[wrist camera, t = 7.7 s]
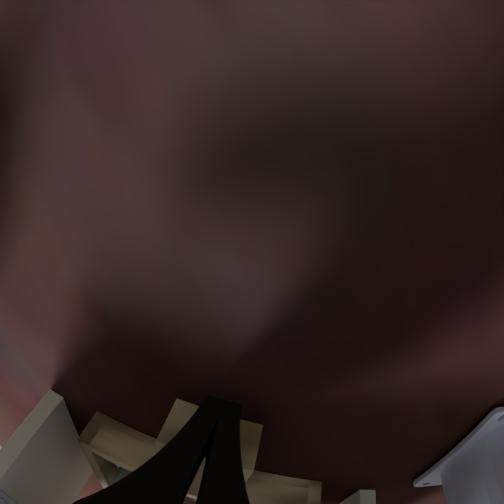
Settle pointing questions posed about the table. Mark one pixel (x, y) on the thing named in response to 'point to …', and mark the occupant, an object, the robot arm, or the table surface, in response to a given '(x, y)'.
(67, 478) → the shelf
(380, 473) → the table surface
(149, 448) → the serving board
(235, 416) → the robot arm
